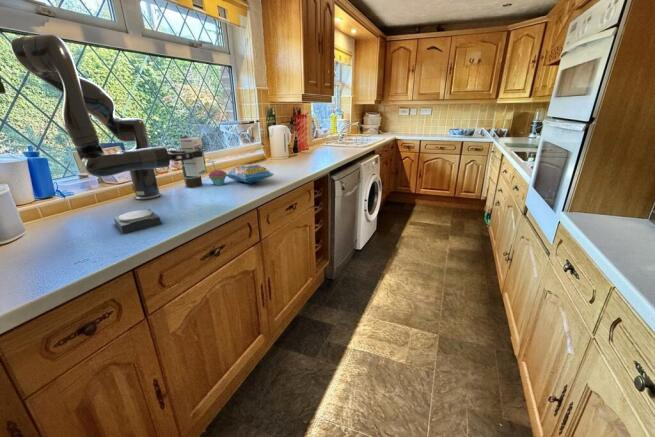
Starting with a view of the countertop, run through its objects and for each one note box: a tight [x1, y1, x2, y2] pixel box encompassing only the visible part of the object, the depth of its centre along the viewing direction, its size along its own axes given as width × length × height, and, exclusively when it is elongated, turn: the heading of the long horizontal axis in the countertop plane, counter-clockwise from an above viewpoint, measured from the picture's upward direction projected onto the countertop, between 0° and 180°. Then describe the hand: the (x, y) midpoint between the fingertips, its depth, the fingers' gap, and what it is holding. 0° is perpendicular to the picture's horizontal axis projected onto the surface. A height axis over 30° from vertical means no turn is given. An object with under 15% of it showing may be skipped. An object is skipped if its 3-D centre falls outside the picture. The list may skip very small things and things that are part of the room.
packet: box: [226, 164, 275, 185], centre depth 153 cm, size 17×24×8 cm
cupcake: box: [208, 159, 228, 186], centre depth 151 cm, size 9×8×12 cm
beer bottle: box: [180, 135, 203, 188], centre depth 147 cm, size 8×8×24 cm
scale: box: [113, 208, 162, 234], centre depth 101 cm, size 12×11×3 cm
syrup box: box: [179, 136, 208, 177], centre depth 118 cm, size 6×6×14 cm
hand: (197, 152), depth 119 cm, fingers closed on syrup box, 7 cm apart
